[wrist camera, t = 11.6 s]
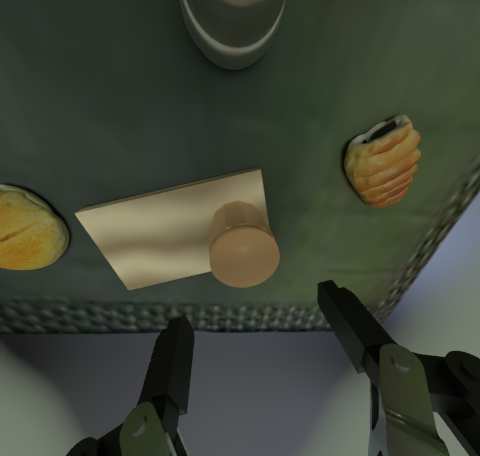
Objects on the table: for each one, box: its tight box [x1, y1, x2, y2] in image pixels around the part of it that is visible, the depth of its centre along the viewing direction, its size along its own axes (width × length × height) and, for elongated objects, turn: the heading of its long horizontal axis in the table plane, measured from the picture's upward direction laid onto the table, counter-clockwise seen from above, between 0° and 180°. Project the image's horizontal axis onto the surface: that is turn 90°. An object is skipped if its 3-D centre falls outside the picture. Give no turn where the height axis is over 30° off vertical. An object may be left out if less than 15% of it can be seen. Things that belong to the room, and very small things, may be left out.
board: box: [74, 167, 269, 290], centre depth 21 cm, size 11×19×2 cm, turn 102°
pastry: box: [344, 115, 421, 207], centre depth 19 cm, size 9×7×4 cm
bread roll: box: [0, 184, 69, 270], centre depth 18 cm, size 8×9×4 cm
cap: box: [209, 201, 280, 287], centre depth 18 cm, size 6×6×6 cm
